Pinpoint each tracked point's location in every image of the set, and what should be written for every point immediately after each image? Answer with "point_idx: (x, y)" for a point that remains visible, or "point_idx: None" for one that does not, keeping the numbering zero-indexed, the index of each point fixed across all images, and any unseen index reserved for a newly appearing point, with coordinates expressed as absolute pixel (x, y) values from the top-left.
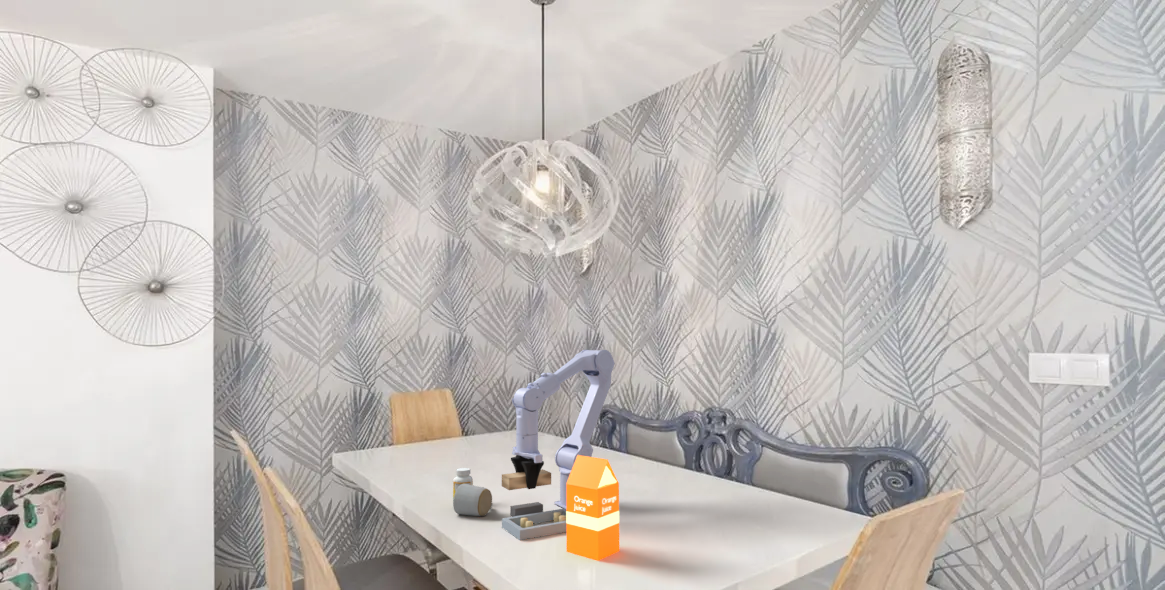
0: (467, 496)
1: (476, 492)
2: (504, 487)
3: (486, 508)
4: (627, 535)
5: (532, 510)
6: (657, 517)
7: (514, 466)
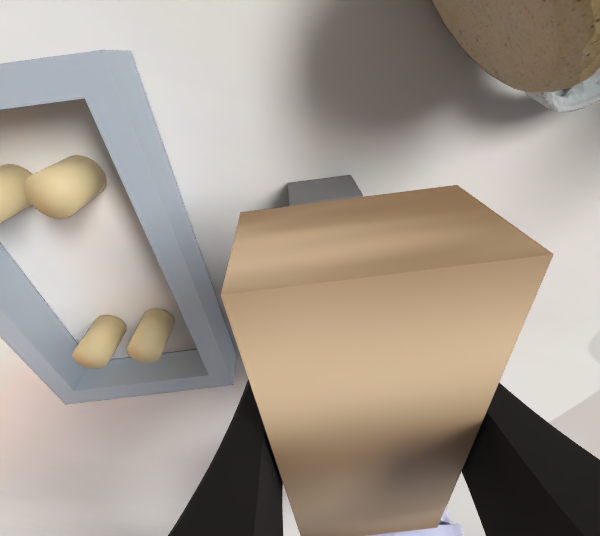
0: None
1: None
2: (374, 196)
3: (460, 15)
4: (4, 432)
5: None
6: (165, 494)
7: (597, 472)
